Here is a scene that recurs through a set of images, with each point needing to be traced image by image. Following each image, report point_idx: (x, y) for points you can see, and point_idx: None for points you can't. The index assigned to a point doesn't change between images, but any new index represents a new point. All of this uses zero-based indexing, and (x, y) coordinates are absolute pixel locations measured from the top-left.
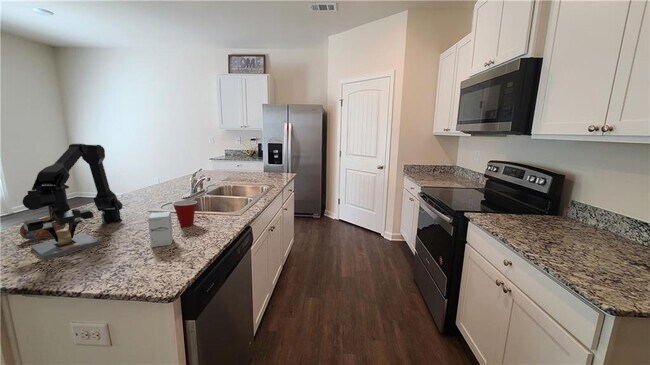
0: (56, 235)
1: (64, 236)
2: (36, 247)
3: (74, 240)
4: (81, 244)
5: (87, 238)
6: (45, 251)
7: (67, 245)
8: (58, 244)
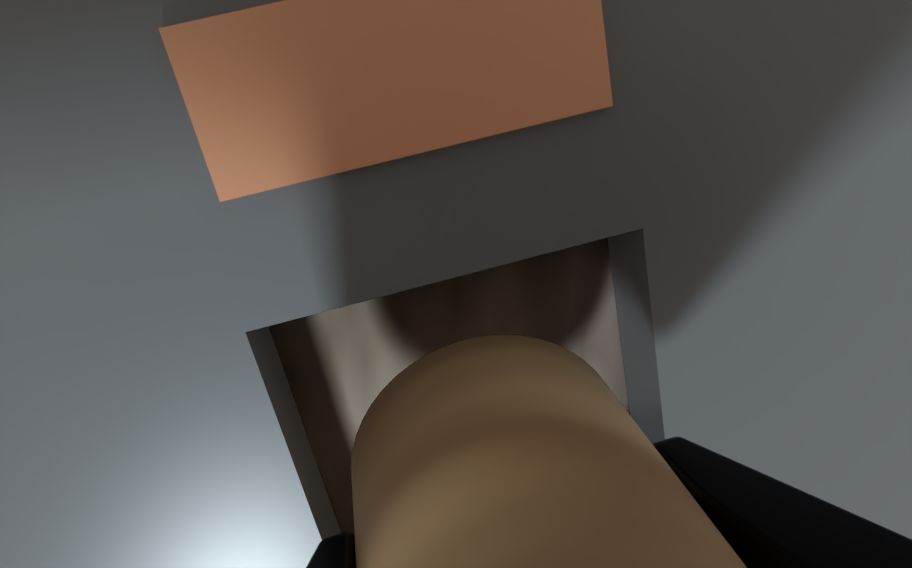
0: (806, 560)
1: (554, 475)
2: (902, 521)
3: (304, 532)
4: (107, 41)
5: (5, 506)
6: (877, 124)
7: (453, 248)
8: None
